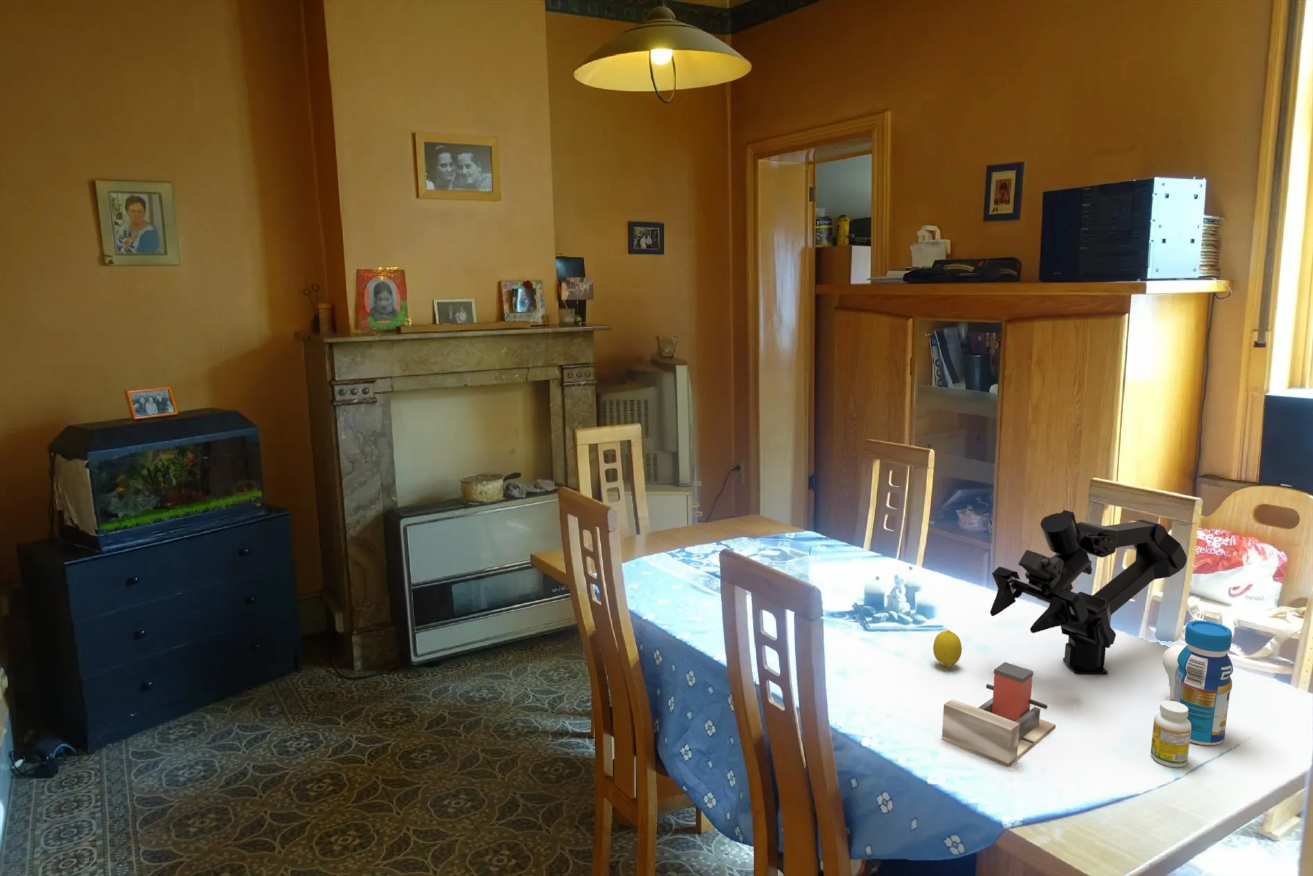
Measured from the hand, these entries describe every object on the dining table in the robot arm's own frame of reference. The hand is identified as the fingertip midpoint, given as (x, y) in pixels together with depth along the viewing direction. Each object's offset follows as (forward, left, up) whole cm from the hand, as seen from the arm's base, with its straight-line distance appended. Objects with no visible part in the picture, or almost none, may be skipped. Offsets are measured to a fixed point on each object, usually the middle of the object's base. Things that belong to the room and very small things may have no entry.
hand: (1010, 622), depth 166 cm
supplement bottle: (-19, +22, -15) cm, 33 cm away
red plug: (+3, +12, -15) cm, 19 cm away
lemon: (+8, -12, -15) cm, 21 cm away
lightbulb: (-31, +2, -15) cm, 34 cm away
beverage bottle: (-28, +14, -15) cm, 35 cm away
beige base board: (+6, +14, -15) cm, 21 cm away
